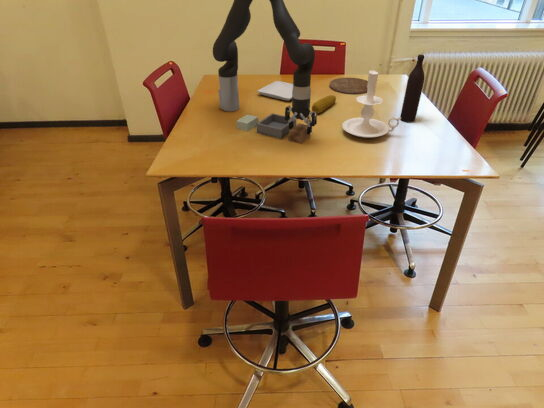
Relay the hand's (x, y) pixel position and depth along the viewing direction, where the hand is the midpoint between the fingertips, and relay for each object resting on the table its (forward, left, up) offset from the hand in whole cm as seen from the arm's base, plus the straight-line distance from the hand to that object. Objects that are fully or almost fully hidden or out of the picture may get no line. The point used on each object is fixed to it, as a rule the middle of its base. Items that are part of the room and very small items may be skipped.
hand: (300, 131), depth 166 cm
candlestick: (+25, +20, -3) cm, 32 cm away
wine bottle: (+36, +44, -3) cm, 57 cm away
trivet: (-5, +75, -4) cm, 76 cm away
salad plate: (-34, +45, -4) cm, 57 cm away
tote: (-13, +2, -3) cm, 14 cm away
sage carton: (-27, -1, -4) cm, 27 cm away
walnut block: (0, 0, -3) cm, 3 cm away
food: (-5, +37, -4) cm, 38 cm away
